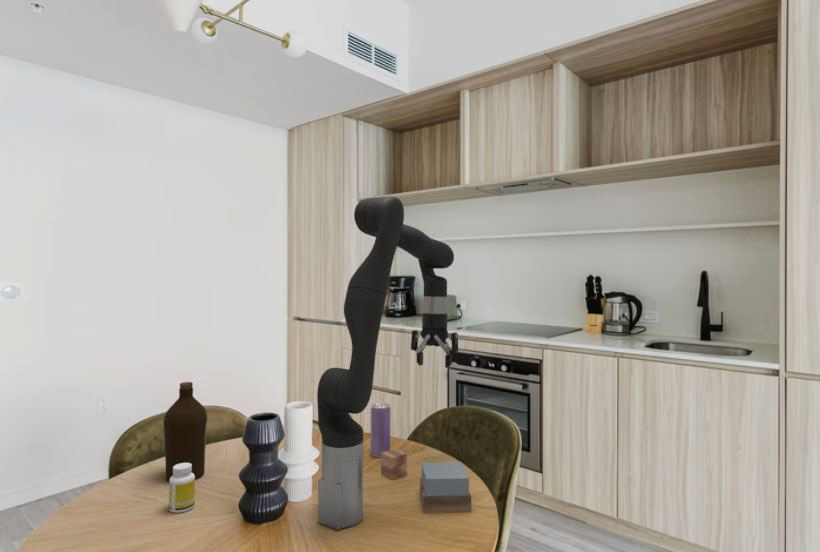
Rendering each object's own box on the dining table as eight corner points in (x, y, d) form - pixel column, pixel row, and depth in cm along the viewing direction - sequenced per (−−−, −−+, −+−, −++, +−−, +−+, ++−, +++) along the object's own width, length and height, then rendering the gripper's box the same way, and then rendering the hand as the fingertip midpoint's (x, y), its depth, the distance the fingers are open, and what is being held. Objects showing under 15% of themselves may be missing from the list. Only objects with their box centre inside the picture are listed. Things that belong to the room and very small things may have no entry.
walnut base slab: (471, 514, 111) (471, 496, 111) (423, 514, 111) (423, 497, 111) (463, 492, 122) (463, 477, 122) (419, 493, 122) (420, 477, 122)
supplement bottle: (199, 504, 114) (200, 463, 114) (182, 515, 109) (182, 471, 109) (181, 501, 115) (182, 460, 115) (163, 511, 110) (163, 468, 110)
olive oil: (172, 488, 122) (173, 389, 123) (157, 476, 130) (157, 383, 130) (213, 475, 130) (214, 383, 130) (196, 465, 137) (197, 377, 138)
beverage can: (389, 458, 144) (389, 408, 144) (369, 458, 144) (369, 407, 144) (390, 451, 150) (391, 402, 150) (371, 450, 150) (371, 402, 150)
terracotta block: (392, 480, 128) (392, 457, 128) (381, 474, 132) (381, 452, 132) (406, 475, 131) (406, 453, 131) (395, 469, 135) (395, 448, 135)
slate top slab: (468, 495, 112) (469, 478, 112) (425, 496, 111) (426, 479, 111) (460, 478, 122) (461, 462, 122) (421, 478, 121) (421, 462, 121)
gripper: (408, 311, 143) (407, 366, 143) (453, 313, 138) (452, 370, 137) (417, 310, 150) (416, 362, 150) (461, 312, 145) (460, 366, 144)
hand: (434, 366), depth 144 cm, fingers open, 8 cm apart
